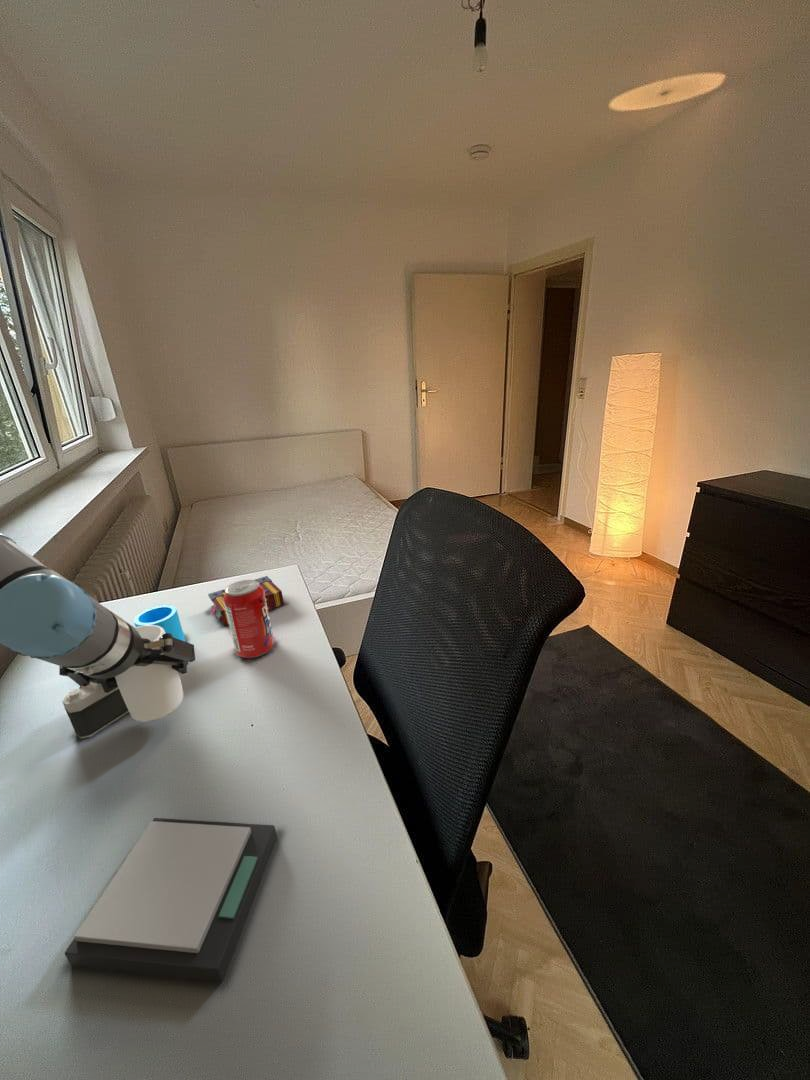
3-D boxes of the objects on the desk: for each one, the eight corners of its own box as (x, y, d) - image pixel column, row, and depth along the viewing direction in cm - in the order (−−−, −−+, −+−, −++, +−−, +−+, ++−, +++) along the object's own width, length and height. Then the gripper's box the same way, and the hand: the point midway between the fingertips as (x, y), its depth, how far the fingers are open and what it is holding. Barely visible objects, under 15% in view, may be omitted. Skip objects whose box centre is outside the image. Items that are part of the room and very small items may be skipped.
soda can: (228, 658, 91) (212, 593, 86) (251, 637, 98) (238, 576, 93) (260, 663, 89) (246, 597, 83) (282, 641, 96) (270, 579, 90)
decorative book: (285, 606, 110) (282, 588, 108) (218, 630, 102) (214, 611, 100) (269, 590, 119) (266, 573, 117) (207, 611, 110) (202, 593, 109)
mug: (144, 644, 98) (133, 612, 95) (184, 632, 102) (175, 601, 99) (143, 673, 88) (132, 638, 85) (188, 659, 92) (178, 625, 89)
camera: (151, 672, 88) (137, 629, 85) (176, 685, 84) (163, 640, 80) (61, 726, 76) (40, 678, 72) (86, 744, 71) (65, 694, 68)
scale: (71, 967, 44) (60, 948, 43) (159, 830, 57) (152, 813, 56) (223, 984, 42) (215, 964, 41) (277, 838, 55) (273, 820, 54)
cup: (132, 737, 68) (104, 661, 63) (129, 706, 75) (103, 635, 70) (190, 713, 73) (169, 640, 68) (183, 686, 79) (163, 617, 74)
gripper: (-8, 697, 50) (82, 712, 71) (193, 653, 57) (223, 679, 77) (-3, 633, 53) (83, 666, 73) (188, 598, 59) (219, 637, 79)
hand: (154, 672), depth 75 cm, fingers closed on cup, 8 cm apart
